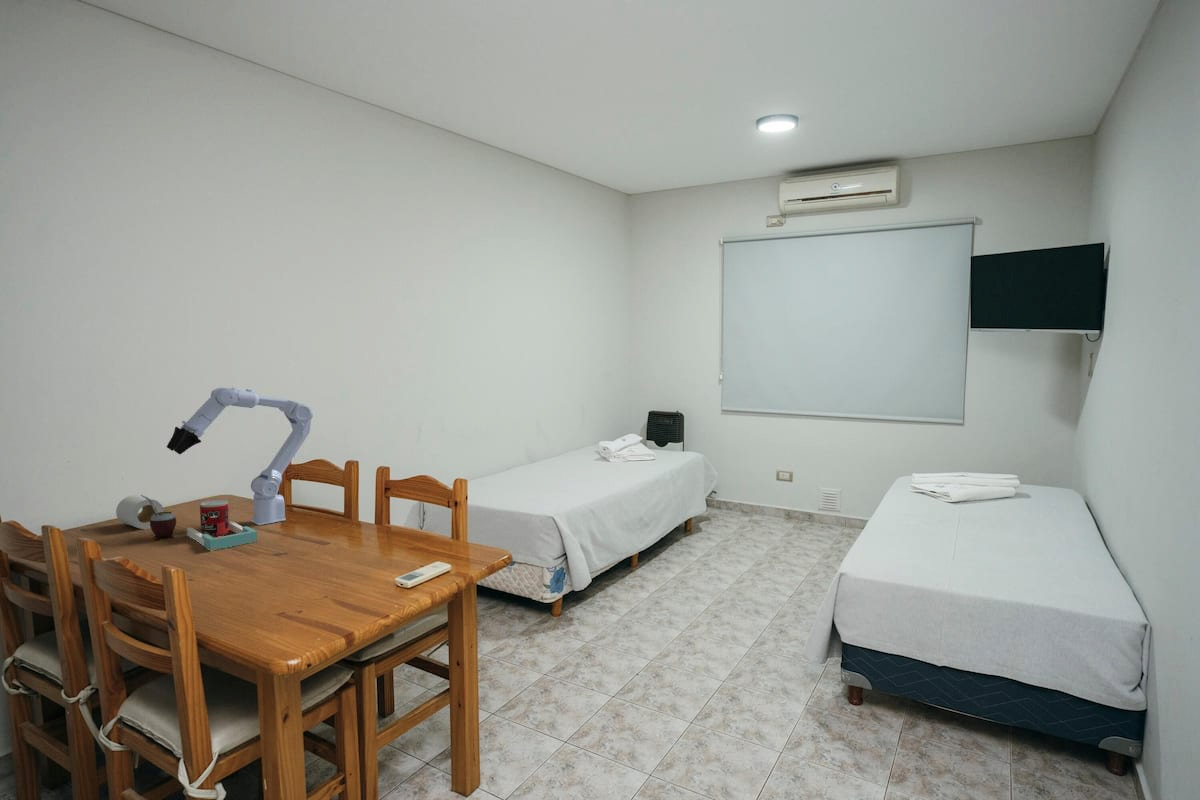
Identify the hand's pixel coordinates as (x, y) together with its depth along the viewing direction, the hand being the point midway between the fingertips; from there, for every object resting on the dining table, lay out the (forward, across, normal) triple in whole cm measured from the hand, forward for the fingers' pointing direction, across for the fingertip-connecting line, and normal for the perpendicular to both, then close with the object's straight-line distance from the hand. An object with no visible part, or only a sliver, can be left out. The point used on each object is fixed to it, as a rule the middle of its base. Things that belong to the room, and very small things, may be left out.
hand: (172, 450), depth 213 cm
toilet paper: (+25, -22, +16) cm, 37 cm away
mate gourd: (+24, -2, +17) cm, 29 cm away
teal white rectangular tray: (+14, +12, +26) cm, 32 cm away
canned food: (+15, +6, +26) cm, 31 cm away
